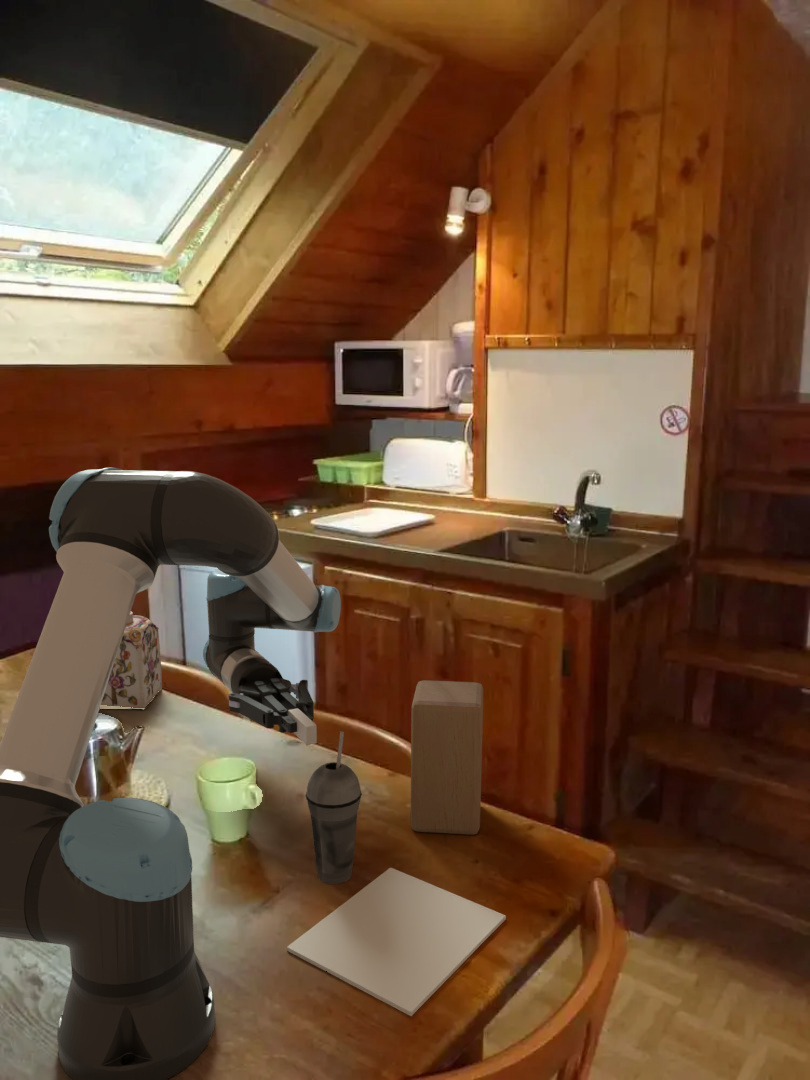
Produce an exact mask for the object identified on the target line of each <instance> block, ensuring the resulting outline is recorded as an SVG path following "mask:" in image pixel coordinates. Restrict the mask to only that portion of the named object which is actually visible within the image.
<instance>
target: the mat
mask: <svg viewBox="0 0 810 1080" xmlns="http://www.w3.org/2000/svg"><path fill="white" fill-rule="evenodd" d="M506 918H507V916H506V915H505V914H503V913H500V912H498V911H495V910H494V909H492V908H488V907H486V906H483V905H482V904H479V903H477V902H475V901H472V900H469V899H468V898H465V897H463V896H460V895H458V894H455V893H452V892H450V891H448V890H446V889H444V888H440V887H438V886H436V885H434V884H431V883H429V882H427V881H424V880H422V879H419V878H417V877H414V876H412V875H410V874H407V873H405V872H403V871H400V870H397V869H395V868H393V867H389V868H388V869H387V870H385V871H384V872H383V873H381V874H380V875H379V876H378V877H376V878H375V879H373V880H372V881H371V882H370V883H368V884H367V885H365V886H364V887H362V889H360V890H359V891H358V892H357V893H355V894H354V895H353V896H351V897H350V898H349V899H347V900H346V901H344V902H343V903H342V904H341V905H339V906H338V907H337V908H336V909H335V910H333V911H332V912H331V913H329V914H328V915H327V916H325V917H324V918H323V919H321V920H320V921H319V922H317V923H316V924H315V925H314V926H312V927H311V928H309V930H307V931H306V932H304V933H303V934H301V936H299V937H298V938H296V939H295V940H294V941H292V942H291V943H289V945H287V946H286V951H287V952H288V953H291V954H292V955H294V956H296V957H298V958H300V959H302V960H304V961H306V962H308V963H309V964H311V965H313V966H315V967H317V968H319V969H320V970H323V971H324V972H326V971H327V972H326V973H328V974H331V975H332V976H334V977H336V978H337V979H340V980H341V981H344V982H345V983H347V984H349V985H351V986H353V987H354V988H356V989H358V990H360V991H362V992H364V993H366V994H368V995H370V996H372V997H373V998H375V999H377V1000H379V1001H381V1002H383V1003H385V1004H387V1005H388V1006H391V1007H393V1008H395V1009H397V1010H398V1011H400V1012H402V1013H404V1014H406V1015H408V1016H410V1017H413V1015H414V1014H415V1013H416V1012H417V1011H418V1010H419V1009H420V1008H421V1007H422V1006H423V1005H424V1004H425V1003H426V1002H427V1001H428V1000H429V999H430V997H432V996H433V995H434V993H435V992H436V991H438V990H439V988H441V987H442V986H443V984H444V983H445V982H446V981H447V980H448V979H449V978H450V977H451V976H452V975H454V973H455V972H456V971H457V970H458V969H459V968H460V967H461V966H462V965H463V964H464V963H465V962H466V960H468V958H470V957H471V956H472V954H473V953H475V951H476V950H478V948H480V946H481V945H482V944H483V943H484V942H486V940H487V939H488V938H489V937H490V936H491V935H492V934H493V933H494V932H495V931H496V930H497V929H498V928H499V927H500V926H501V925H502V923H504V922H505V920H506Z"/></svg>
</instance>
